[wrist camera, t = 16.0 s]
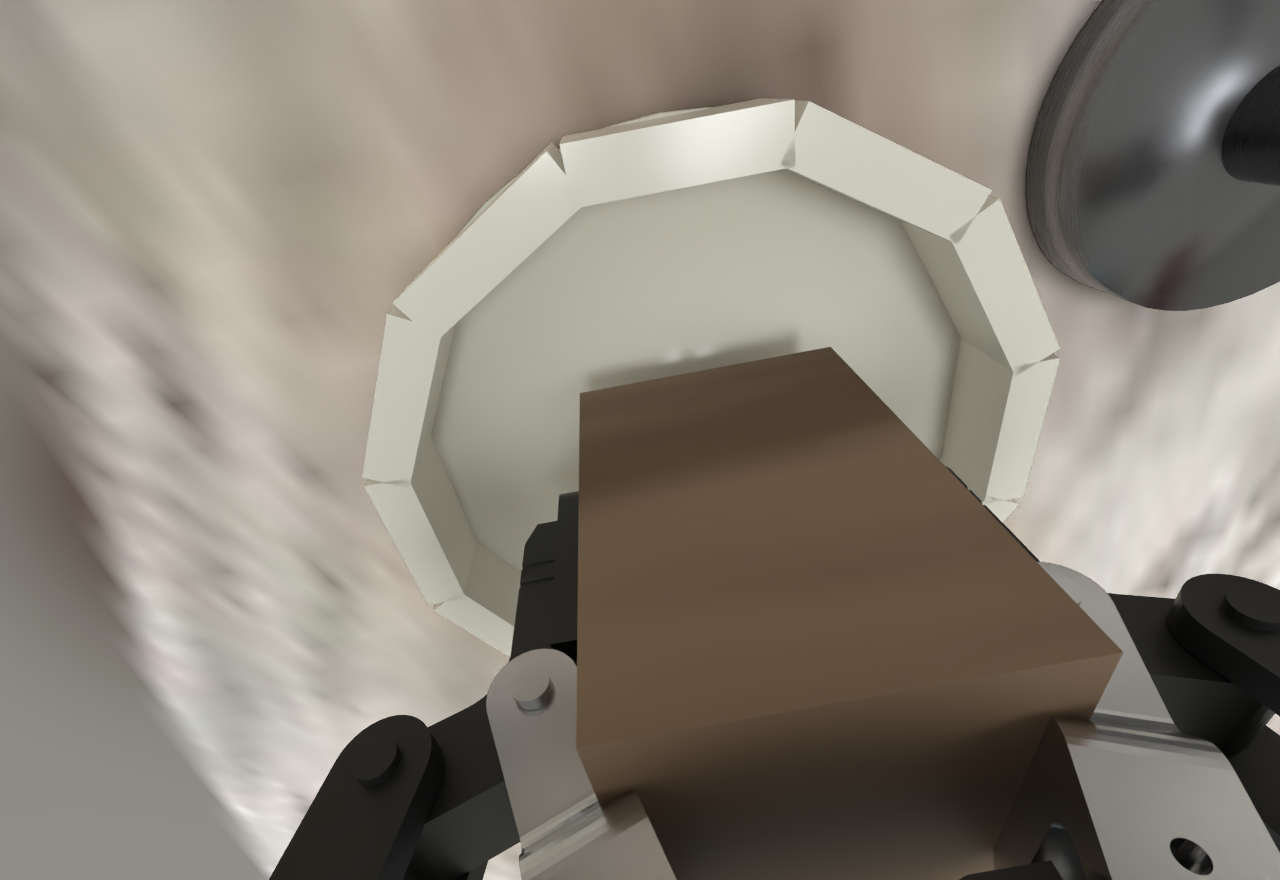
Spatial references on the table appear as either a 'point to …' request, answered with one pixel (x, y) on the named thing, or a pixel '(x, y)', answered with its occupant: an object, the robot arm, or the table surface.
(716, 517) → the block
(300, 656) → the table surface
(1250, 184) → the base
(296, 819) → the table surface
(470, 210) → the table surface
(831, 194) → the dish
